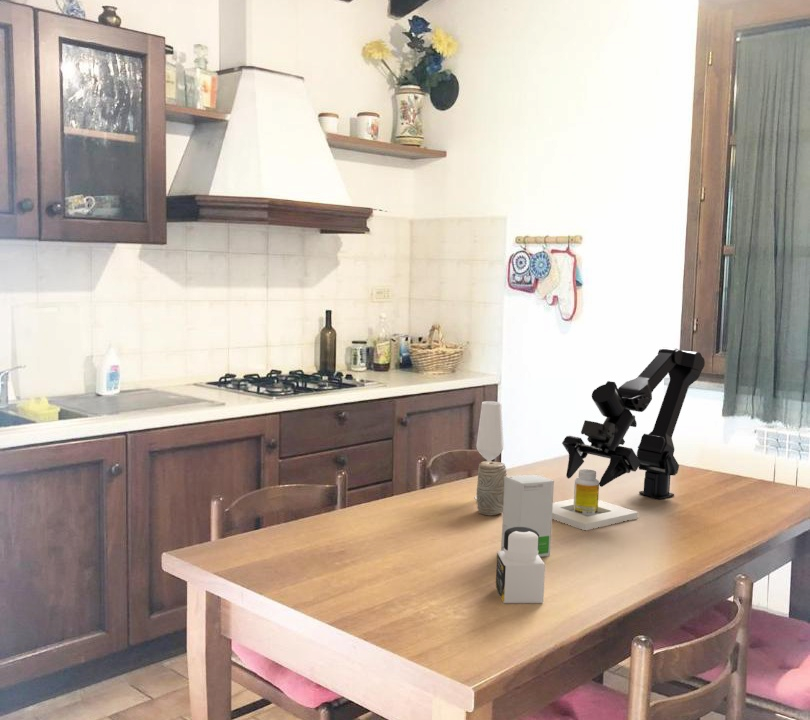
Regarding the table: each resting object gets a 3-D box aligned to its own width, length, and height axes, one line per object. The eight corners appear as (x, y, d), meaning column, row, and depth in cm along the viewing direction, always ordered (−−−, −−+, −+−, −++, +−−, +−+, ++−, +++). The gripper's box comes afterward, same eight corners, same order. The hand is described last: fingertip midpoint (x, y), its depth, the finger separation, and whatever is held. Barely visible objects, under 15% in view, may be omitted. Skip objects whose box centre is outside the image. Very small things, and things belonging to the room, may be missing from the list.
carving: (469, 513, 205) (471, 462, 203) (489, 507, 210) (491, 458, 209) (491, 519, 200) (493, 467, 199) (511, 513, 206) (513, 462, 204)
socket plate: (585, 502, 217) (586, 496, 217) (637, 518, 204) (638, 512, 204) (533, 512, 206) (533, 506, 206) (584, 530, 194) (585, 524, 193)
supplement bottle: (600, 517, 203) (602, 474, 202) (576, 517, 203) (579, 473, 201) (593, 510, 208) (595, 468, 207) (570, 510, 208) (572, 468, 207)
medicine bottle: (495, 588, 158) (497, 523, 157) (534, 588, 158) (537, 523, 157) (502, 604, 151) (505, 536, 149) (543, 603, 151) (547, 536, 150)
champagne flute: (505, 497, 219) (510, 402, 216) (493, 503, 213) (497, 406, 210) (481, 493, 222) (485, 399, 220) (469, 498, 217) (473, 402, 214)
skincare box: (517, 561, 173) (521, 483, 171) (498, 551, 178) (502, 476, 177) (552, 555, 176) (555, 480, 175) (532, 545, 182) (536, 472, 181)
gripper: (568, 402, 212) (537, 453, 206) (635, 414, 198) (604, 468, 192) (586, 431, 218) (556, 481, 212) (652, 444, 204) (622, 497, 198)
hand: (583, 481), depth 203 cm, fingers open, 9 cm apart
